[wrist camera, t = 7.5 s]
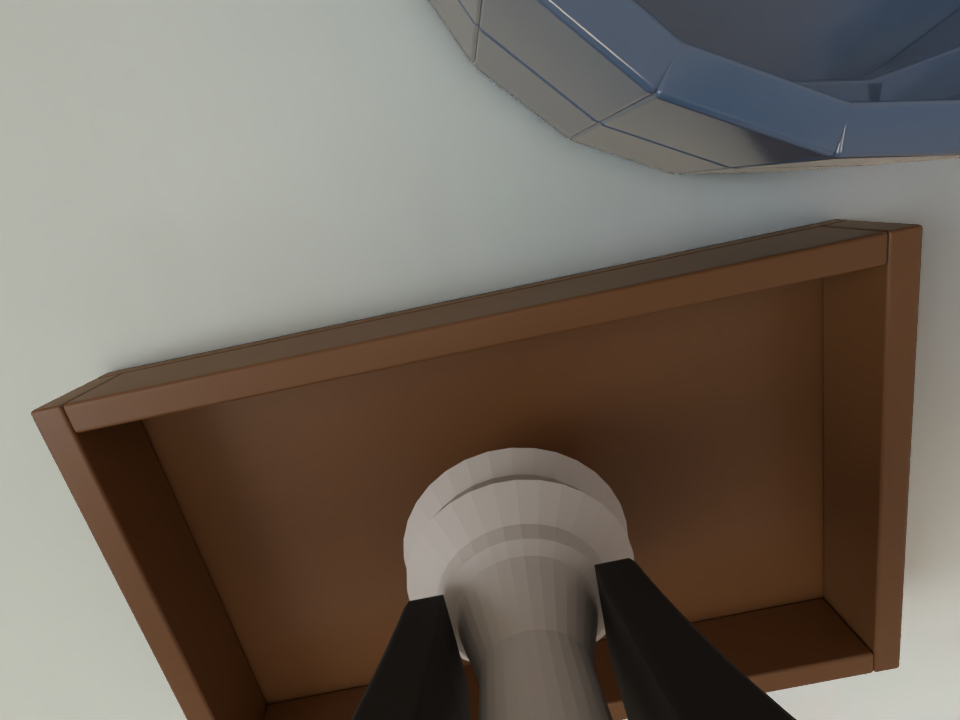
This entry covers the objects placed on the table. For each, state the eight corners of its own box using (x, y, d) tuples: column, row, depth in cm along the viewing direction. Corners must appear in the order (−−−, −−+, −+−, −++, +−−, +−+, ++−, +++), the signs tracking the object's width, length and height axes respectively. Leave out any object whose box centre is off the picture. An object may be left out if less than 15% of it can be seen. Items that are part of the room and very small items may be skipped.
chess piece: (540, 395, 10) (773, 978, 3) (664, 552, 11) (1069, 1260, 4) (359, 526, 11) (126, 1278, 3) (494, 660, 12) (550, 1434, 5)
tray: (837, 218, 11) (925, 224, 9) (835, 598, 14) (900, 668, 12) (106, 372, 12) (28, 412, 9) (258, 709, 15) (224, 796, 12)
